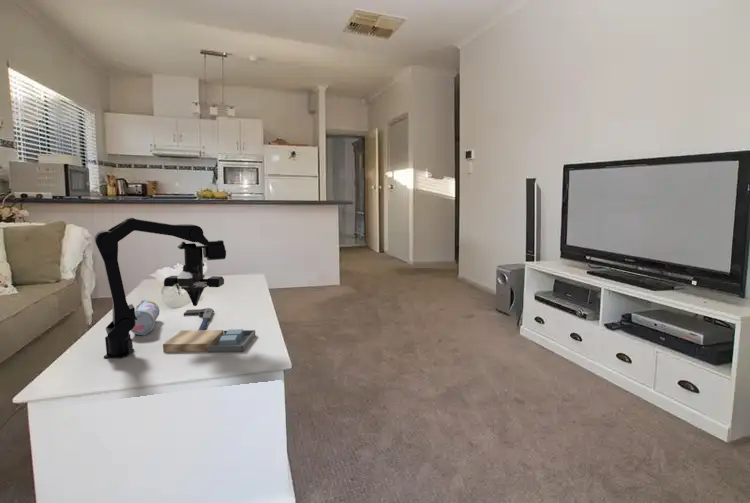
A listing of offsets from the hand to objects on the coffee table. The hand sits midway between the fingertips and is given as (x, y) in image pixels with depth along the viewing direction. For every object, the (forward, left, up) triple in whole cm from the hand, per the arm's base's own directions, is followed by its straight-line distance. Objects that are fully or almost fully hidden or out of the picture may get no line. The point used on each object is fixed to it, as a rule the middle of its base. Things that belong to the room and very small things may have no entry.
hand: (195, 305), depth 150 cm
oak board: (+1, -4, -12) cm, 13 cm away
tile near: (+13, -7, -12) cm, 19 cm away
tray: (+14, -4, -12) cm, 19 cm away
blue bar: (-9, +20, -13) cm, 25 cm away
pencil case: (-25, +14, -13) cm, 31 cm away
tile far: (+13, 0, -12) cm, 18 cm away
